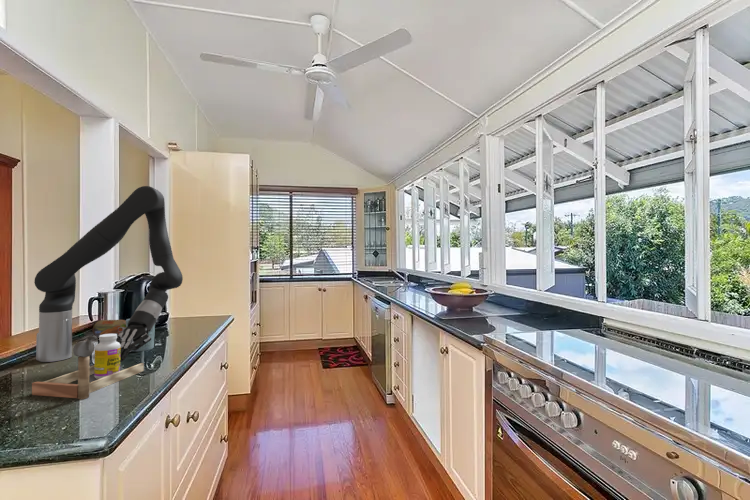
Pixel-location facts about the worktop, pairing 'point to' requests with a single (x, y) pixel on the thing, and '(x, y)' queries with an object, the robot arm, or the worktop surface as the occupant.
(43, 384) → the wooden frame stand
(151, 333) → the grey green cup
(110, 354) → the supplement bottle
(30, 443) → the worktop surface
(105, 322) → the tin
